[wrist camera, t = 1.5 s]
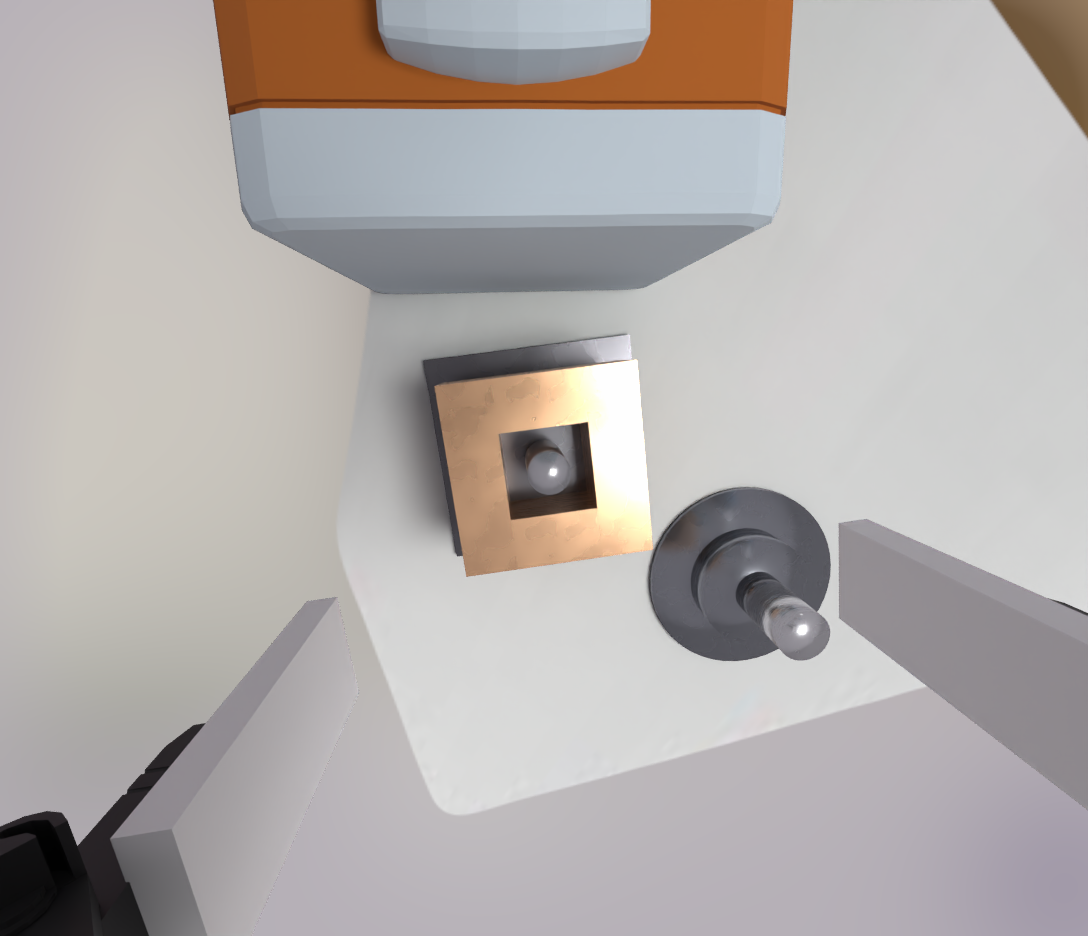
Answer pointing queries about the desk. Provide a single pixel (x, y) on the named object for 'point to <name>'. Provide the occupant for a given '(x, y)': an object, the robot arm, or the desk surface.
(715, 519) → the hub
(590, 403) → the brown square ring block
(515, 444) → the stand
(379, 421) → the desk surface
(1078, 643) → the robot arm
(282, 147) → the grey rounded upright slab
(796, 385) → the desk surface
